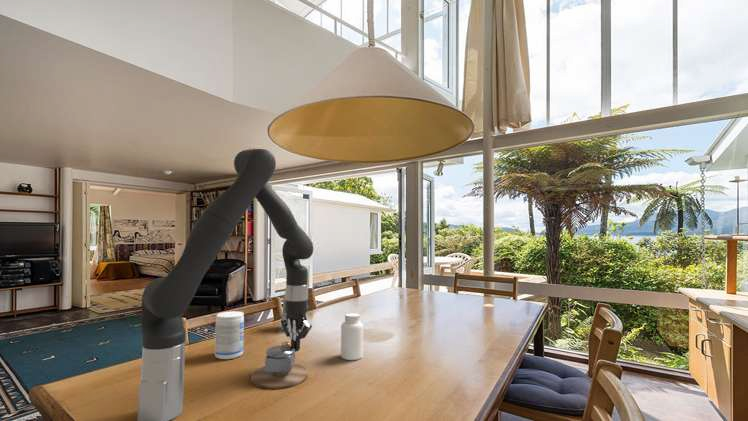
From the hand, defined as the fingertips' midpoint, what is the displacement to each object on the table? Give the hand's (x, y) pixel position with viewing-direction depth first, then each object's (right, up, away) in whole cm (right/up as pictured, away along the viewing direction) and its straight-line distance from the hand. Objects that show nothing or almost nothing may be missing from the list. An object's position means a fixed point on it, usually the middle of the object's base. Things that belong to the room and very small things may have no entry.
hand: (295, 350), depth 120 cm
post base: (-3, -5, -7) cm, 9 cm away
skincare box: (-11, -8, +45) cm, 47 cm away
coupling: (-3, -2, -5) cm, 6 cm away
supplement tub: (-26, -6, +10) cm, 29 cm away
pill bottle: (+18, -7, +11) cm, 22 cm away
